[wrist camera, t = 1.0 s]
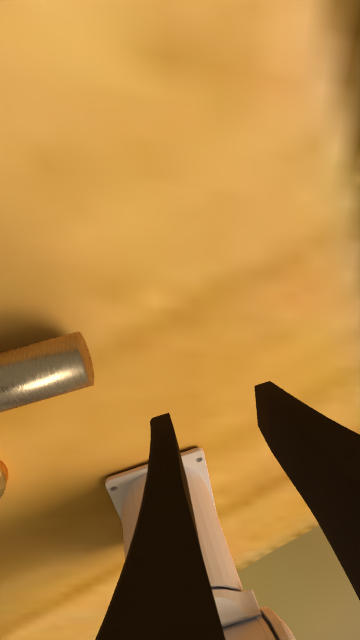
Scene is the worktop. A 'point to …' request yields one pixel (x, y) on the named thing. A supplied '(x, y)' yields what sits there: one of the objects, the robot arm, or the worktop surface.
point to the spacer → (3, 477)
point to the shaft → (44, 370)
